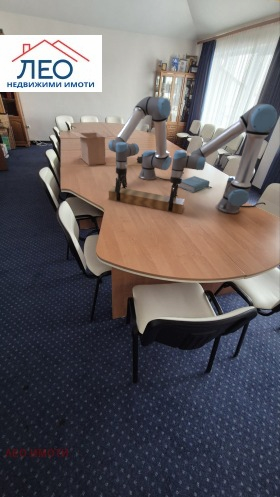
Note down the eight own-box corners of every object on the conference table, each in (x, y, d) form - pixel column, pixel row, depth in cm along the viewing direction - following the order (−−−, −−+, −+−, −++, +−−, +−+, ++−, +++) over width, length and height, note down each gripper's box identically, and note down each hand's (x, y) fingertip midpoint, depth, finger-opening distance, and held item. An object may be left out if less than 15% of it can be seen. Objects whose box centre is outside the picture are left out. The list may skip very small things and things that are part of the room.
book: (193, 181, 204) (194, 176, 201) (208, 186, 195) (209, 181, 192) (178, 186, 191) (179, 181, 188) (193, 192, 182) (195, 186, 179)
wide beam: (108, 199, 162) (108, 190, 158) (114, 194, 169) (114, 186, 166) (181, 213, 150) (182, 204, 146) (183, 207, 158) (185, 199, 154)
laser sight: (156, 165, 237) (157, 156, 231) (135, 163, 240) (136, 153, 234) (157, 163, 245) (158, 153, 239) (137, 161, 248) (138, 151, 242)
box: (116, 165, 229) (116, 136, 213) (83, 168, 214) (80, 137, 198) (102, 154, 259) (101, 128, 243) (71, 156, 244) (68, 129, 228)
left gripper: (120, 172, 141) (119, 205, 154) (132, 164, 158) (130, 193, 172) (109, 171, 143) (110, 203, 156) (122, 162, 160) (122, 191, 173)
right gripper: (179, 183, 133) (173, 215, 146) (185, 172, 150) (179, 202, 163) (167, 180, 134) (162, 213, 147) (174, 170, 152) (169, 200, 165)
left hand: (121, 198), depth 164 cm, fingers closed on wide beam, 10 cm apart
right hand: (171, 208), depth 155 cm, fingers closed on wide beam, 10 cm apart
